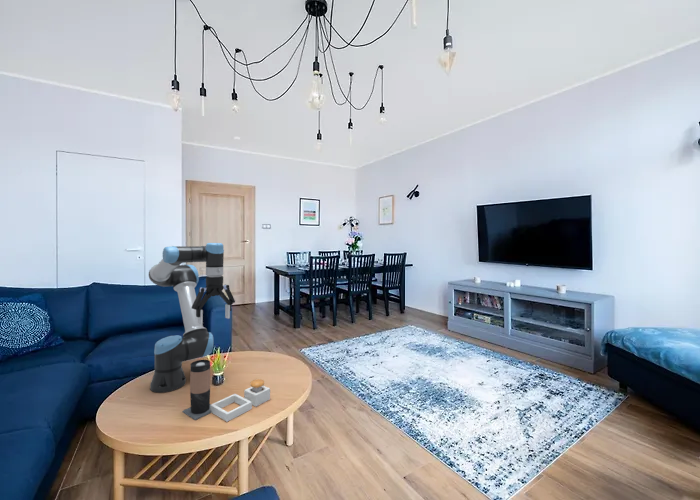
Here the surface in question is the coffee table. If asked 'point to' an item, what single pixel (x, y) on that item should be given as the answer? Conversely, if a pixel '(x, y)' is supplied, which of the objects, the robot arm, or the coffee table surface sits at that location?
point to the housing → (257, 395)
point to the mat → (195, 416)
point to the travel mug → (200, 386)
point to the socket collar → (228, 416)
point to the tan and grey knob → (257, 385)
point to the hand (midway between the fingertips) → (214, 321)
